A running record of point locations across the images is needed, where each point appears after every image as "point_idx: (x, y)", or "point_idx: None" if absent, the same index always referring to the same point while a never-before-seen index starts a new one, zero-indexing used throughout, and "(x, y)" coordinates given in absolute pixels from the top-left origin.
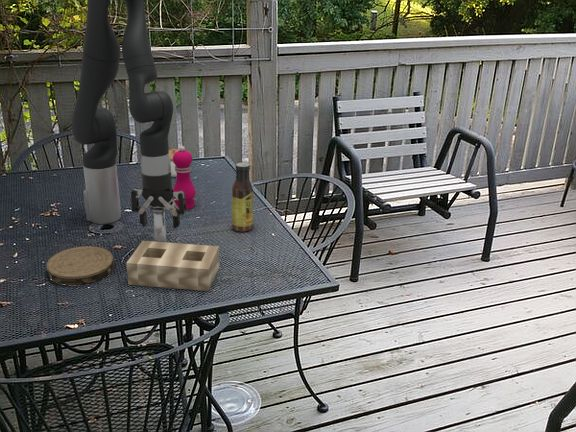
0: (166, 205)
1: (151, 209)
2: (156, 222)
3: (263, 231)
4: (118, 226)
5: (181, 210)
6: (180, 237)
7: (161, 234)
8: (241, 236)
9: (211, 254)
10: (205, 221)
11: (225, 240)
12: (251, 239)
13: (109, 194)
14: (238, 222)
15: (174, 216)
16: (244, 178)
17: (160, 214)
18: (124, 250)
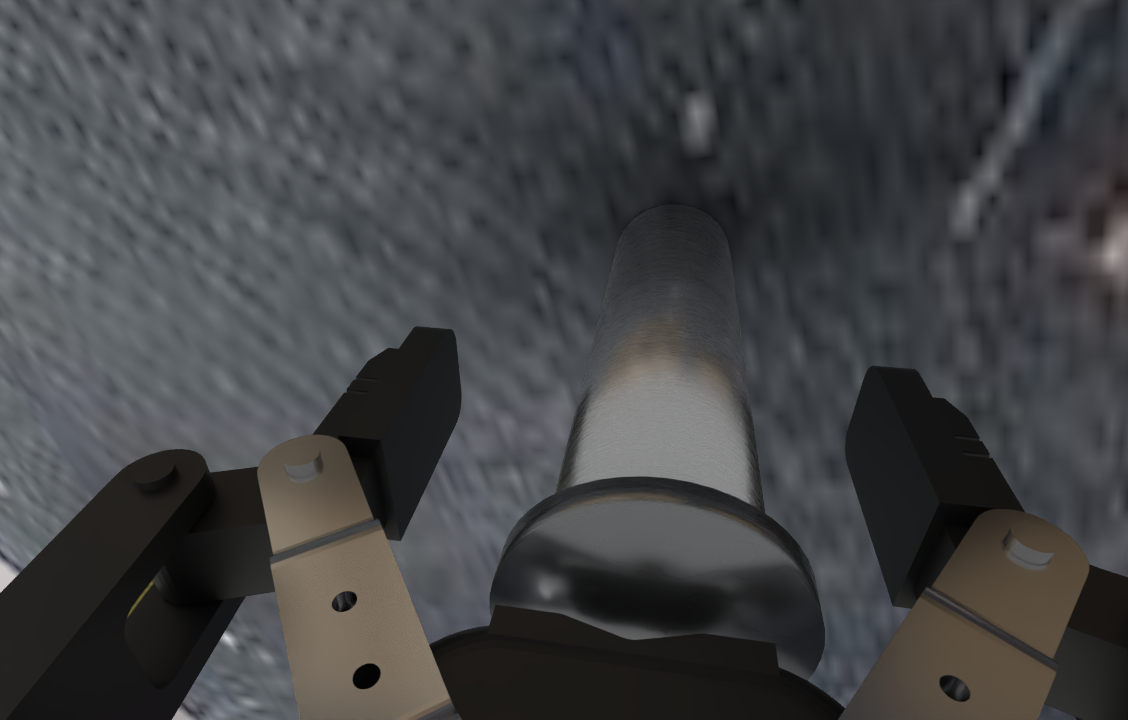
0: (364, 624)
1: (782, 573)
2: (682, 374)
3: (63, 509)
4: None
5: (132, 509)
6: (547, 435)
7: (630, 285)
8: (144, 453)
9: None
10: (450, 622)
11: (211, 400)
12: (63, 418)
13: None
14: None
15: (351, 439)
16: None
17: (592, 476)
18: (1070, 166)
